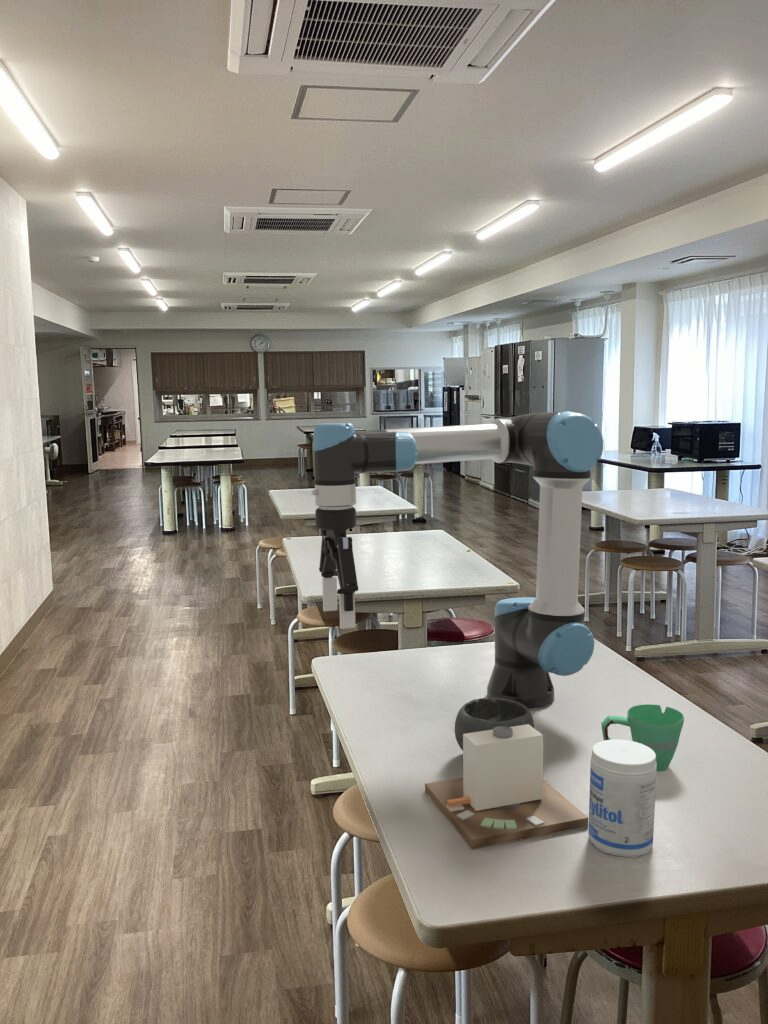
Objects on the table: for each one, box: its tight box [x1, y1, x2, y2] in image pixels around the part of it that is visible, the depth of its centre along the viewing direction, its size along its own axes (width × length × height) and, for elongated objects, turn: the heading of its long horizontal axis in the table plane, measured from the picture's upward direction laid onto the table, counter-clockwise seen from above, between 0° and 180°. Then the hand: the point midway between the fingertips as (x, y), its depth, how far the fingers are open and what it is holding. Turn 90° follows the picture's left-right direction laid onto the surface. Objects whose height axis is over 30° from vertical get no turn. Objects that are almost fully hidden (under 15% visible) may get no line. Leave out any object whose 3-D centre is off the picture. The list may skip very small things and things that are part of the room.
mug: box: [601, 703, 685, 773], centre depth 152 cm, size 15×10×10 cm
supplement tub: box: [587, 738, 657, 858], centre depth 125 cm, size 10×10×15 cm
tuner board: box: [424, 776, 589, 850], centre depth 138 cm, size 20×20×2 cm
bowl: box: [454, 697, 535, 752], centre depth 156 cm, size 15×15×10 cm
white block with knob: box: [447, 724, 544, 811], centre depth 136 cm, size 16×5×12 cm, turn 108°
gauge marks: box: [447, 805, 544, 830], centre depth 132 cm, size 12×10×1 cm
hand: (338, 618), depth 156 cm, fingers open, 13 cm apart
